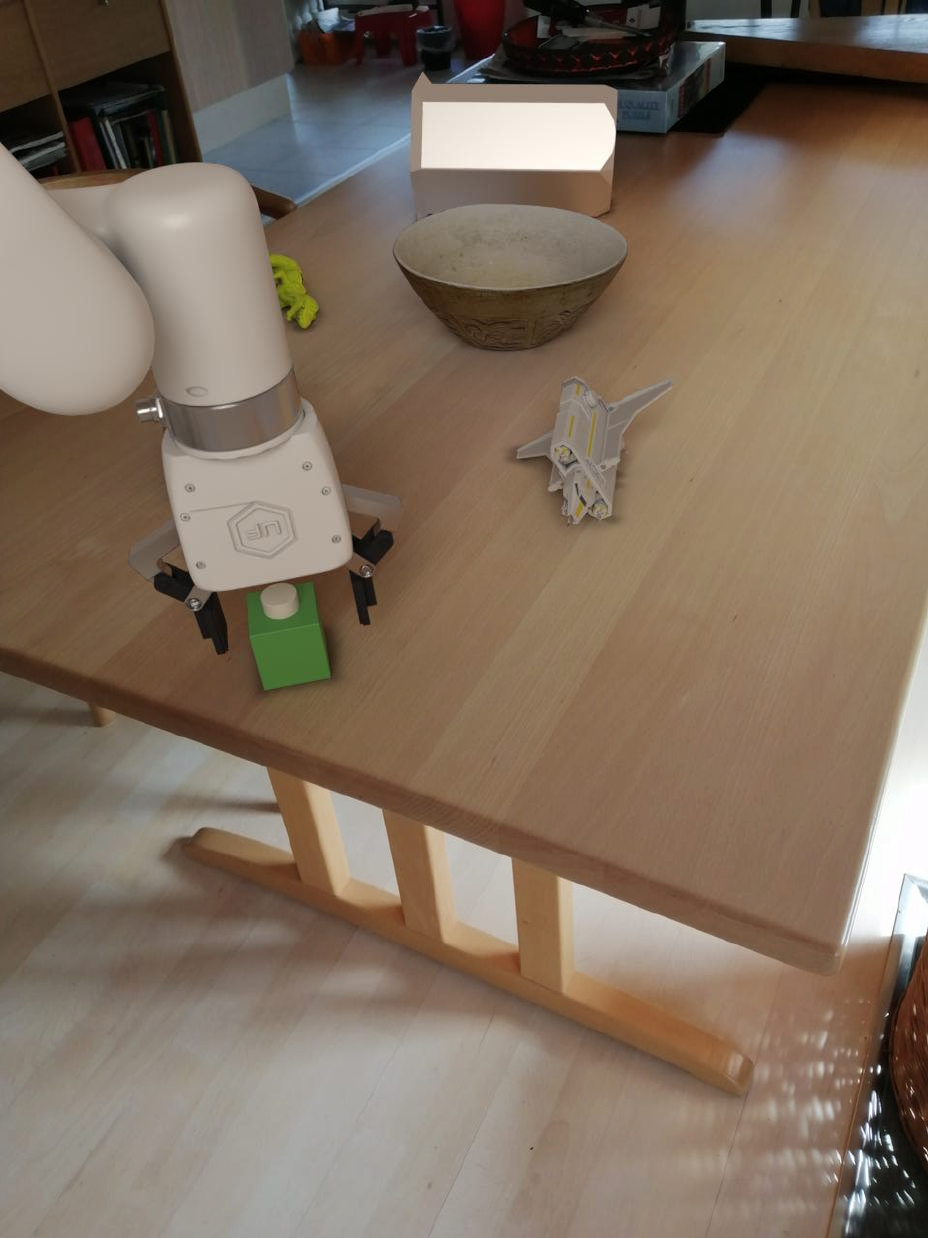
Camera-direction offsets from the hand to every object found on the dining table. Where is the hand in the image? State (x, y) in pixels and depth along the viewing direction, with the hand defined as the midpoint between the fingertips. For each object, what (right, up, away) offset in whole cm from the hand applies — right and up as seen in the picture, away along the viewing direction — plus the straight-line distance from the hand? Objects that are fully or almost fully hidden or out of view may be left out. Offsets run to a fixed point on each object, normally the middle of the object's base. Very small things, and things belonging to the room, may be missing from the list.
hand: (293, 626), depth 68 cm
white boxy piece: (+19, +55, +66) cm, 88 cm away
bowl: (+17, +31, +39) cm, 53 cm away
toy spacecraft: (+22, +10, +14) cm, 28 cm away
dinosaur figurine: (-10, +38, +50) cm, 64 cm away
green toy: (0, -3, +2) cm, 3 cm away
